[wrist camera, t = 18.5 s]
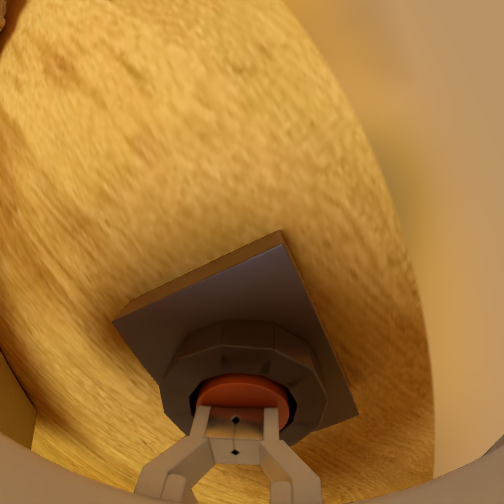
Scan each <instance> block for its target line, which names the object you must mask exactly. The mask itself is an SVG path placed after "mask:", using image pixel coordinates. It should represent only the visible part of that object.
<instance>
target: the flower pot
mask: <svg viewBox="0 0 504 504" xmlns="http://www.w3.org/2000/svg"><path fill="white" fill-rule="evenodd" d="M36 415H37V413H36V410H35V408H34V406H33V405H32V404H31V402H30V401H29V399H28V397H27V396H26V394H25V393H24V391H23V390H22V388H21V386H20V385H19V383H18V382H17V380H16V378H15V376H14V375H13V373H12V371H11V369H10V368H9V366H8V364H7V362H6V360H5V358H4V356H3V354H2V352H1V351H0V432H2V433H3V434H5V435H6V436H8V437H9V438H11V439H12V440H14V441H16V442H17V443H19V444H21V445H22V446H24V447H26V448H27V449H29V450H31V446H32V440H33V434H34V429H35V422H36Z"/></svg>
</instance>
